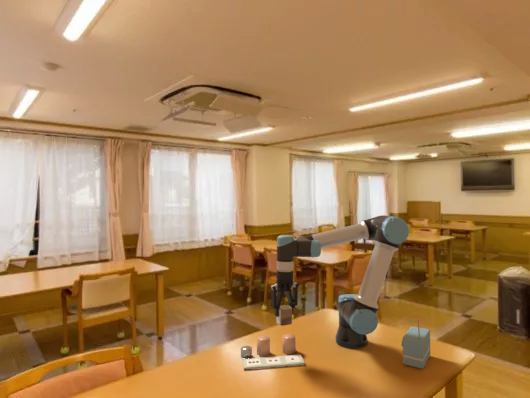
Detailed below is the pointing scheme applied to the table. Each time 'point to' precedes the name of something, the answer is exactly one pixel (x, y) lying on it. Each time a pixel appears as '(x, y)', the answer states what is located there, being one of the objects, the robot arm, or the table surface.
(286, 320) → the walnut block
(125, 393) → the table surface
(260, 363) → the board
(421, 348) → the radio
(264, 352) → the pink capsule pill
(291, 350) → the peach capsule
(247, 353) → the tin
